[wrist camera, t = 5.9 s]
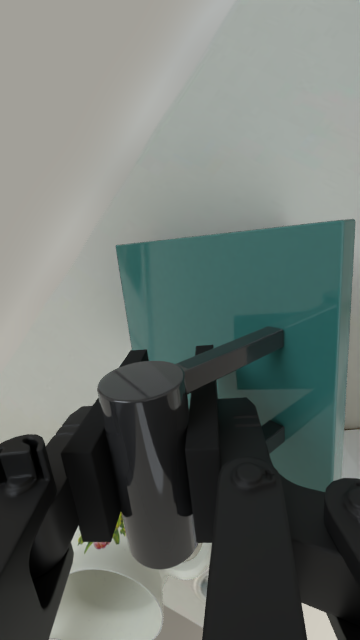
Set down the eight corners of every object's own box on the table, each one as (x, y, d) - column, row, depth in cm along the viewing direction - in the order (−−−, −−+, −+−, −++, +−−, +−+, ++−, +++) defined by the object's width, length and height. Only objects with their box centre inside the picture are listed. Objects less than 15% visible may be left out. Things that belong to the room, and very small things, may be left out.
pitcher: (223, 510, 38) (232, 657, 25) (95, 527, 40) (41, 667, 27) (203, 439, 35) (201, 561, 22) (67, 462, 38) (-8, 583, 25)
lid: (357, 218, 8) (119, 241, 4) (339, 529, 11) (193, 725, 7) (125, 244, 20) (-2, 257, 15) (148, 397, 23) (47, 444, 18)
